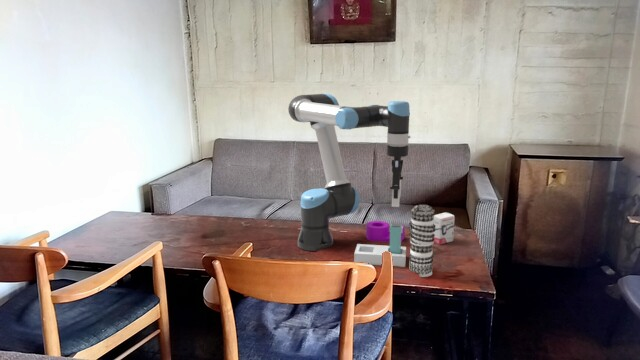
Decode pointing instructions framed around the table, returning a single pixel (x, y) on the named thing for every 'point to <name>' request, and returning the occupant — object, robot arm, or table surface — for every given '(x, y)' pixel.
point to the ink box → (443, 228)
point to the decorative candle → (422, 240)
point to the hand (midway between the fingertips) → (396, 201)
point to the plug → (395, 238)
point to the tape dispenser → (380, 231)
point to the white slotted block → (378, 254)
